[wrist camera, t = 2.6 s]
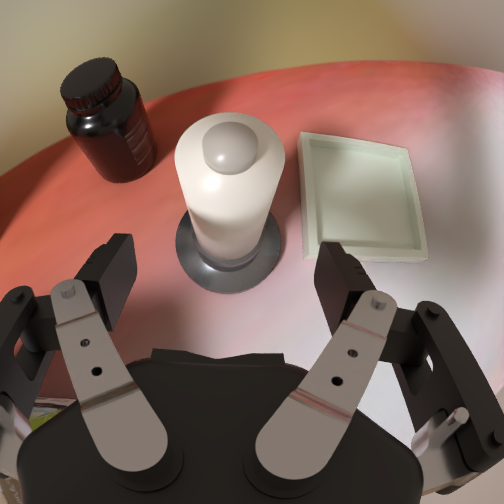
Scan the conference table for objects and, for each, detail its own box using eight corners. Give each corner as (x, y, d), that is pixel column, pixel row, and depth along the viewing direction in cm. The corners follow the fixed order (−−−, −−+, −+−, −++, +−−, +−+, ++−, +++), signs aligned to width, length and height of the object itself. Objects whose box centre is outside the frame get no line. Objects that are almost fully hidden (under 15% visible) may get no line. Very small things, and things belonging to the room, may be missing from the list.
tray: (303, 259, 27) (309, 253, 25) (296, 143, 30) (300, 131, 28) (417, 262, 27) (428, 257, 26) (399, 157, 31) (407, 149, 29)
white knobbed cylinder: (193, 258, 22) (164, 192, 11) (197, 196, 23) (180, 101, 13) (261, 261, 22) (290, 196, 12) (261, 198, 23) (285, 105, 13)
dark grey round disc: (173, 292, 25) (164, 284, 21) (182, 195, 27) (175, 174, 23) (279, 295, 26) (288, 288, 22) (277, 199, 28) (285, 178, 24)
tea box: (87, 394, 22) (-21, 431, 7) (115, 487, 19) (49, 569, 5) (-14, 388, 20) (-107, 395, 6) (10, 468, 17) (-68, 503, 3)
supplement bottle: (141, 121, 29) (115, 38, 18) (169, 161, 28) (145, 72, 17) (89, 154, 28) (43, 80, 16) (111, 198, 27) (57, 124, 15)
